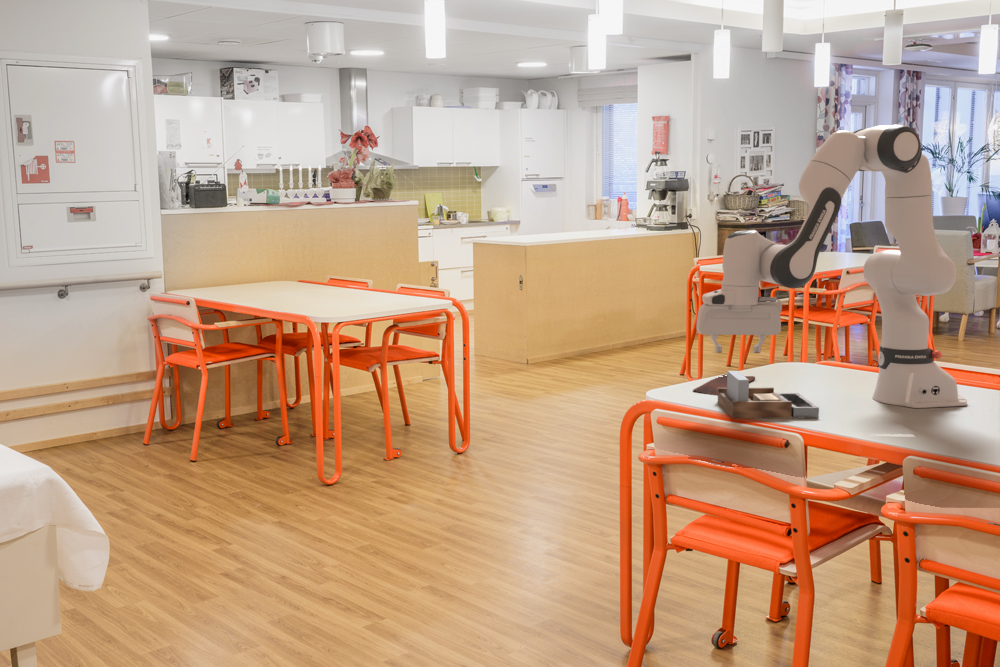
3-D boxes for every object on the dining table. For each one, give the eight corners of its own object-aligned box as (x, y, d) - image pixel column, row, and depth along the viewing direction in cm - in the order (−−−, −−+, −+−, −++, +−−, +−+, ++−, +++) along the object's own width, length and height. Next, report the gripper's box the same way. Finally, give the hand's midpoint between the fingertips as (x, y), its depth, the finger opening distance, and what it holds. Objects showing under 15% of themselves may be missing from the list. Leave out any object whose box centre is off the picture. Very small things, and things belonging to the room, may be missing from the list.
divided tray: (772, 402, 242) (772, 387, 242) (791, 418, 225) (791, 401, 225) (717, 403, 242) (718, 387, 242) (732, 418, 226) (733, 402, 225)
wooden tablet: (721, 391, 249) (687, 383, 255) (720, 399, 249) (686, 391, 255) (758, 375, 270) (725, 369, 276) (757, 383, 271) (724, 376, 276)
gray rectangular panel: (736, 405, 240) (737, 370, 239) (747, 416, 228) (748, 379, 227) (726, 405, 240) (727, 370, 239) (737, 416, 228) (738, 380, 227)
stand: (797, 402, 242) (797, 393, 242) (818, 417, 225) (818, 407, 225) (774, 402, 242) (774, 393, 242) (793, 418, 225) (793, 407, 225)
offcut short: (771, 401, 237) (771, 393, 237) (779, 407, 230) (779, 399, 230) (753, 401, 237) (753, 393, 237) (760, 407, 230) (760, 399, 230)
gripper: (778, 295, 233) (776, 350, 235) (696, 295, 233) (694, 350, 235) (786, 298, 226) (783, 355, 228) (700, 297, 227) (698, 354, 229)
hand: (737, 352), depth 232 cm, fingers open, 8 cm apart
